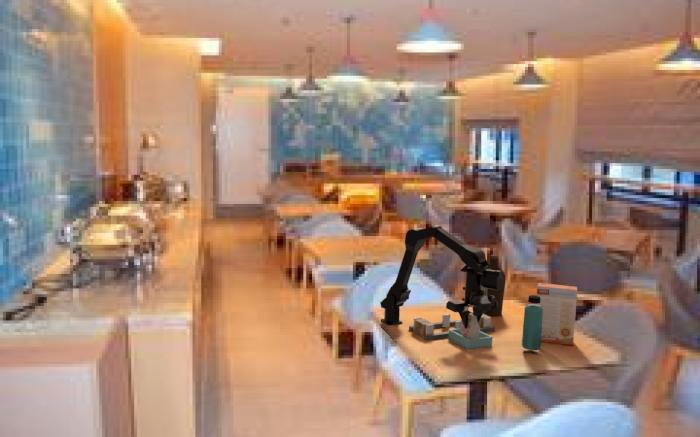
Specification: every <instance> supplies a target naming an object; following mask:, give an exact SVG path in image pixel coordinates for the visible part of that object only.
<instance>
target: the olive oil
mask: <svg viewBox="0 0 700 437" xmlns="http://www.w3.org/2000/svg"><path fill="white" fill-rule="evenodd" d="M489 256H490V257H489V265H490V267H491V270H495V271H497V270H498V271H502V275H503V279H504V284H503V287H502V289H501V290H500V291H498V290H493V289H488V288H484V287H483V286H481V289H484V295H485V296H492V295H493V296H494V297H495V300H496V301H497V308H490V310H488V311H486V312H484V313H483V314H485V315H487V316H489V317H500V316H502V314H503V305H504V296H505V287H506V280H507V278H506V273H505V271H504V270H503V269H502V268H501V266H500V265H499V255H498V254H490V255H489Z"/></svg>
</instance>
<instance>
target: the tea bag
mask: <svg viewBox="0 0 700 437" xmlns="http://www.w3.org/2000/svg"><path fill="white" fill-rule="evenodd" d="M460 320H461V322H460V333H459V334H460V335H462V336H464V337H465V338H467V339H469V340H470V339H477V338H479V331H480V327H479V324H478V321H477V317H476V316H474V315H472V314H469V316H468V327H467V328H465V327H464V325H463V322H462V319H460Z"/></svg>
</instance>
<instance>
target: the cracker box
mask: <svg viewBox="0 0 700 437" xmlns="http://www.w3.org/2000/svg"><path fill="white" fill-rule="evenodd" d="M536 296H539V297H540V303H535V304H536V305H539V306H541V307H542V309H543V316H542V323H543V324H542V332H541V333H542V334H541V338H542V339H541V342H544V343H552V344H561V345H567V346H573V345H574V338H575V336H574V334H575V326H576V313H577V300H578V286H571V285H561V284H552V283H544V282H542V283H541V282H538V283H537V288H536Z"/></svg>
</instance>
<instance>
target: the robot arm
mask: <svg viewBox="0 0 700 437" xmlns="http://www.w3.org/2000/svg"><path fill="white" fill-rule="evenodd" d="M430 238H434V239H435V240H436V241H437V242H439V243H441V244H442V245H444V246H445V247H447V248H448V249H449V250H451V251H452V252H453V253H455V254H456V255H458V257H459V259H460V260H461V262H462V263H463V264H464V266H463V267H462V268H461V269H460V272H462V273H465V282H464V283H465V286H462V290H463V291H464V297H462V299H461V301H462V302H461V301H459V300H457V299H453V300H448V301H447V302H446V306H445V307H446V309H447V310H449V311H452V312H453V313H458V314H459V316H460V320H462V322H463V325H464V327H465V328H467V327H468V316H469V314H470V313H471V311H470V310H469V308H472V311H473V315H474V316H476V317H477V321H478V323H479V320H480V318H481V316H482V314H483V313H484V312H486V311H488V310H490V308H497V301H496V300H495V297H494V296H493V295H492V296H485V295H484V289H481V286H483V287H484V288H488V289H493V290H498V291H500V290H501V289H502V287H503V284H504V279H503V275H502V271H498V270H497V271H495V270H491V267H490V265H489V264H490V262H488V260H487V258H486V253H485V252H484V251H483V250H481V249H479V248H478V247H475V246H471V245H468V244H466V243H464V242H463V241H461V240H460V239H458V237H455V236H454V235H453V234H451V233H450V232H448V231H447V230H445V229H444V228H443V227H442V226H441V225H439V224H437V225H431V226H430V227H426V228H424V227H416V228H411V229H409V230H407V231H406V233H405V237H404V248H405V252H404V254H403V257H402V260H401V264H400V266H399V269H398V273H397V275H396V278H395V281H394V283H393V284H392V285H391V287H390V288H389V290H388V291H387V293H386V296H385V298H384V299H382V301H380V308H381V309H384V314H383V316H384V317H383V318H381V319H380V321H381V322H383V323H384V324H387V325H388V326H389V325H390V326H391V325H392V326H393V325H398V324H399V325H400V324H403V321H402V320H400V312H401V309H400V307H403V306H404V304H405V303H406V302H407V300H409V299H410V294H411V292H412V289H410V288H409V286H408V284H409V281H410V278H411V275H412V272H413V269H414V266H415V263H416V260H417V257H418V253H419V251H420V250H421V249H422V248H423V247H424V245H425V244H426V242H427V240H428V239H430Z"/></svg>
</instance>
